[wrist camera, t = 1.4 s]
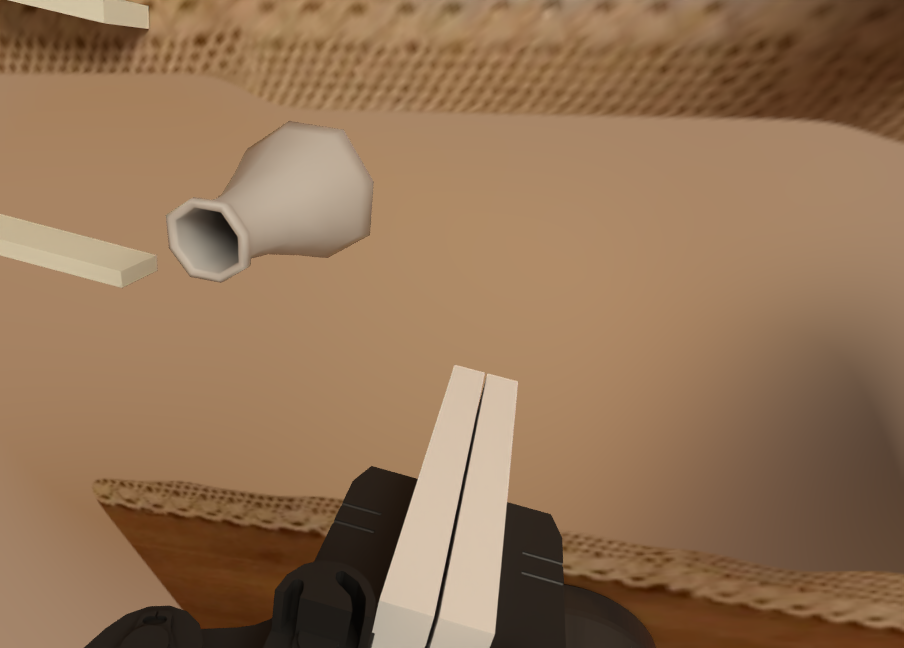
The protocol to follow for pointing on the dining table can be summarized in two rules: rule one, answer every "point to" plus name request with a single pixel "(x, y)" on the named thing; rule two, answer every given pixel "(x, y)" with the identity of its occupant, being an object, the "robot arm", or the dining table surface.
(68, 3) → the u-shaped wooden frame
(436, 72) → the dining table surface
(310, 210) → the flask
